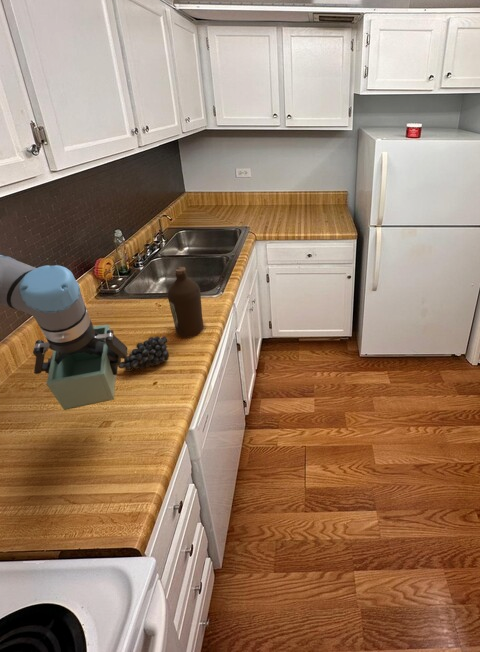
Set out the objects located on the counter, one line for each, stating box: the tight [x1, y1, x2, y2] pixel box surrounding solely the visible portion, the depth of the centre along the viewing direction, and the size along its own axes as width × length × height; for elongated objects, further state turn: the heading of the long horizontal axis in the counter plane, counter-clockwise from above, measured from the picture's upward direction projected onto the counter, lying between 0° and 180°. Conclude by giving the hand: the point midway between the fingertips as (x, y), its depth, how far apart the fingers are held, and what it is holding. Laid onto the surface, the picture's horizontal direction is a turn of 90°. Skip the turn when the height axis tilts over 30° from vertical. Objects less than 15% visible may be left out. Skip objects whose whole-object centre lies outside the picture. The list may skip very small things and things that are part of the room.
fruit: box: [118, 335, 171, 372], centre depth 104 cm, size 9×8×15 cm
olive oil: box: [167, 266, 204, 338], centre depth 117 cm, size 11×11×25 cm
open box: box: [46, 324, 117, 411], centre depth 78 cm, size 15×10×12 cm
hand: (90, 374), depth 80 cm, fingers closed on open box, 10 cm apart
